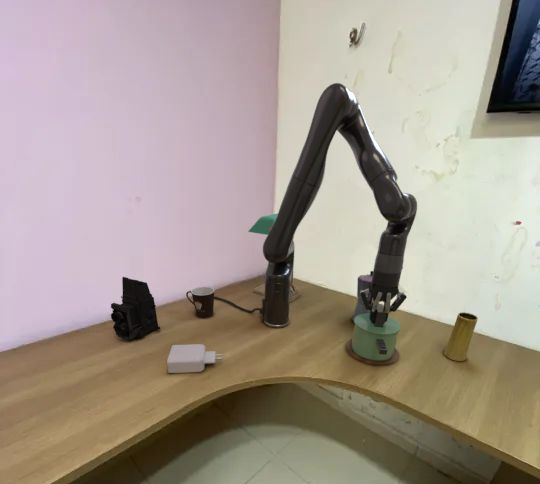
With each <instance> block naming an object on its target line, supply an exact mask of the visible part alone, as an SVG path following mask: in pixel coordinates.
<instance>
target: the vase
mask: <svg viewBox="0 0 540 484" xmlns="http://www.w3.org/2000/svg"><path fill="white" fill-rule="evenodd" d="M478 320H479V317H478V316H477V315H475V314H473V313H470V312H466V311H465V312H462V311H461V312H458V313H457V317H456V320H455V323H454V325H453V328H452V331H451V333H450V337H449V339H448V341H447V344H446V347H445V349H444V352H443V354H444V356H445V357H446V358H447V359H449V360H452V361H454V362H464V361H466V360H467V359H466V357H467V354H468V350H469V348H470V344H471V341H472V338H473V334H474V332H475V330H476V329H475V328H476V326H477V322H478Z"/></svg>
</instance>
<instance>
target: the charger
mask: <svg viewBox="0 0 540 484" xmlns="http://www.w3.org/2000/svg"><path fill="white" fill-rule="evenodd" d="M206 348H207V347H206V345H204V344H203V343H195V344H193V343H192V344H191V343H189V344H172V346H171V348H170V351H169V354H168V356H167V361H166V364H167V371H168V374H185V373H186V374H188V373H201V372H202V371H204V370H205V365H207V364H216V361H217V360H223V359H224V358H223V356H224V354H223V353H220V354H219V353H218V354H217V351H216V350H213V351H211V350H209V351H207V349H206Z"/></svg>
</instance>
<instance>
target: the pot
mask: <svg viewBox="0 0 540 484" xmlns="http://www.w3.org/2000/svg"><path fill="white" fill-rule="evenodd" d="M369 315H370V313H364V314H360V315H358V316H356V317H355V319H354V322H353V324H354V328H353V334H352V339H353V340H352V339H351V340H352V349H353V351H354V352H355V353H356V354H358V355H359V356H361V357H363V358H366V359H370V360H377V361H382V360H387V359H390V358H391V357H392V356H393V354H394V349H396V345H397V340H398V335H399V333H400V332H401V329H402V325H401V323H400V322H399V321H398V320H396V319H395V318H393V317H391V316H389V315H388V319H387V322H385V323H384V321H385V316H386V311H385V309H384V304H383V303H382V304H380V303H379V304H378V306H377V308H376V316H375V321H374V323H371V321H370V319H369Z"/></svg>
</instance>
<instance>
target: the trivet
mask: <svg viewBox="0 0 540 484" xmlns="http://www.w3.org/2000/svg"><path fill="white" fill-rule="evenodd" d="M352 340H353V338H352V339H351V340H349V341H348V342H347V344H346V352H347V353H348V354H349V356H350V357H352V358H353V359H354V360H357V361H358V362H361V363H363V364H366V365H371V366H377V367H378V366H379V367H380V366H381V367H384V366H389V365H392V364H394V363H396V362H397V361H398V359H399V352H398V350H397V348H395V349H394V354H393V356H392V357H391V358H390V359H387V360H382V361H377V360H370V359H366V358H363V357H361V356H359V355H358V354H356V353H355V352H354V351H353V349H352Z"/></svg>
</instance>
